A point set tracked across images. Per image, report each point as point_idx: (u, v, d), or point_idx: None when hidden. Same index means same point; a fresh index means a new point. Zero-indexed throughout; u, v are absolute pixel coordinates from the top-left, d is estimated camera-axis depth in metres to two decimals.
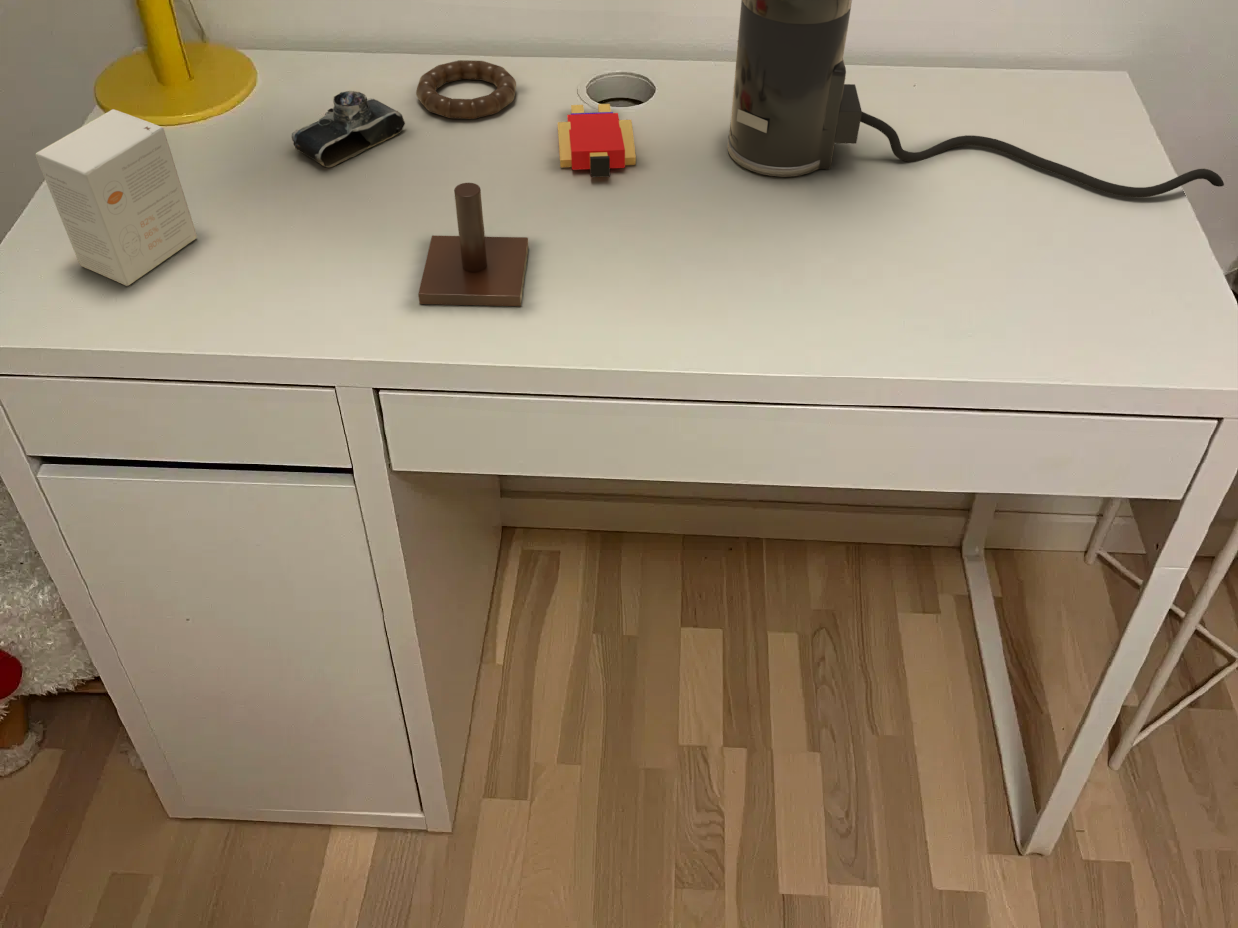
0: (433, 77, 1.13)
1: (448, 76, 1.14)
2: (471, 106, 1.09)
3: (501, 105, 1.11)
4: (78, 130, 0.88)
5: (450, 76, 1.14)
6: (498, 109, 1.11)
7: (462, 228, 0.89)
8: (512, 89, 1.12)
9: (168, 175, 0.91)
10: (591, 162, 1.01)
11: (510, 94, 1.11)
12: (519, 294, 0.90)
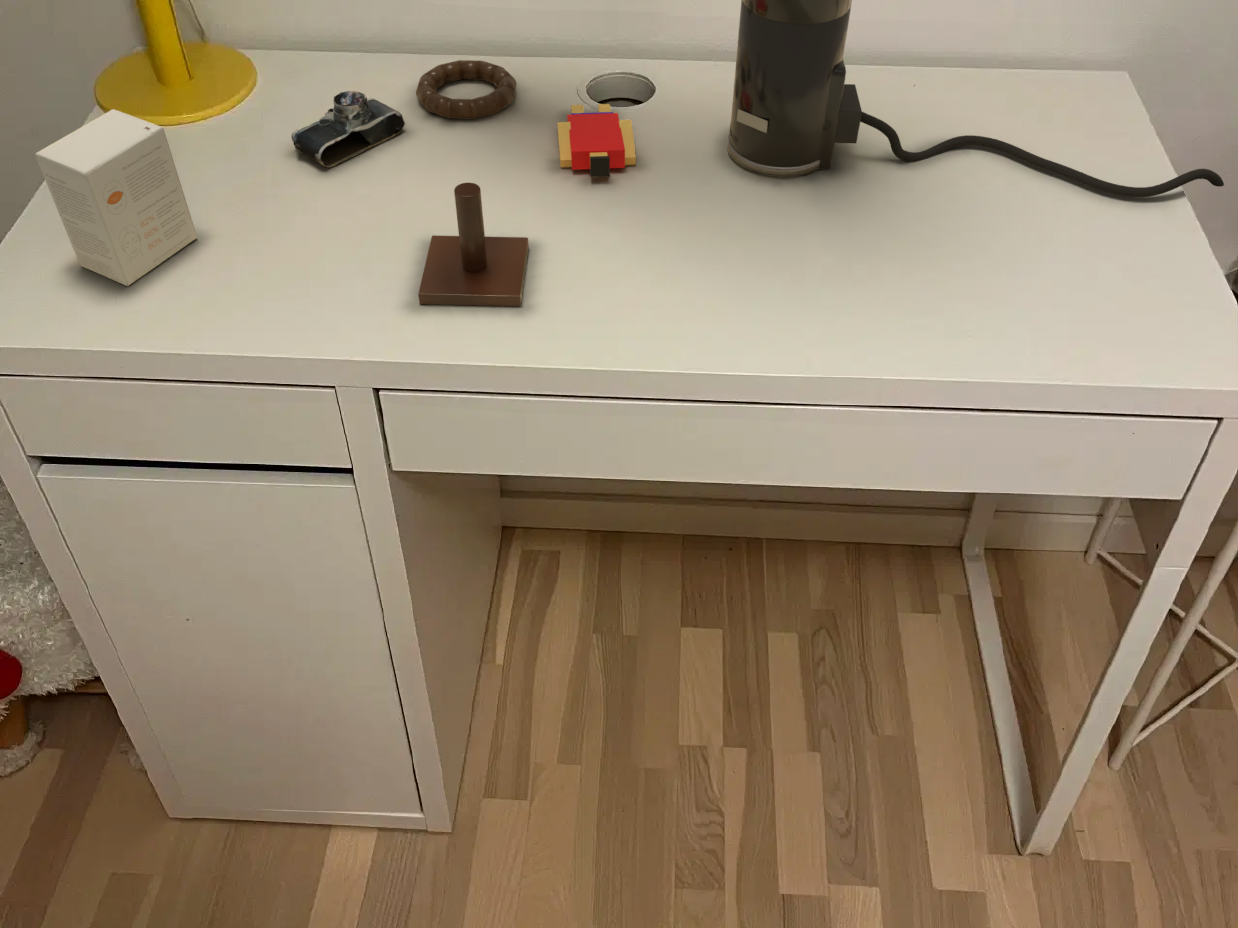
0: (433, 77, 1.13)
1: (448, 76, 1.14)
2: (471, 106, 1.09)
3: (501, 105, 1.11)
4: (78, 130, 0.88)
5: (450, 76, 1.14)
6: (498, 109, 1.11)
7: (462, 228, 0.89)
8: (512, 89, 1.12)
9: (168, 175, 0.91)
10: (591, 162, 1.01)
11: (510, 94, 1.11)
12: (519, 294, 0.90)
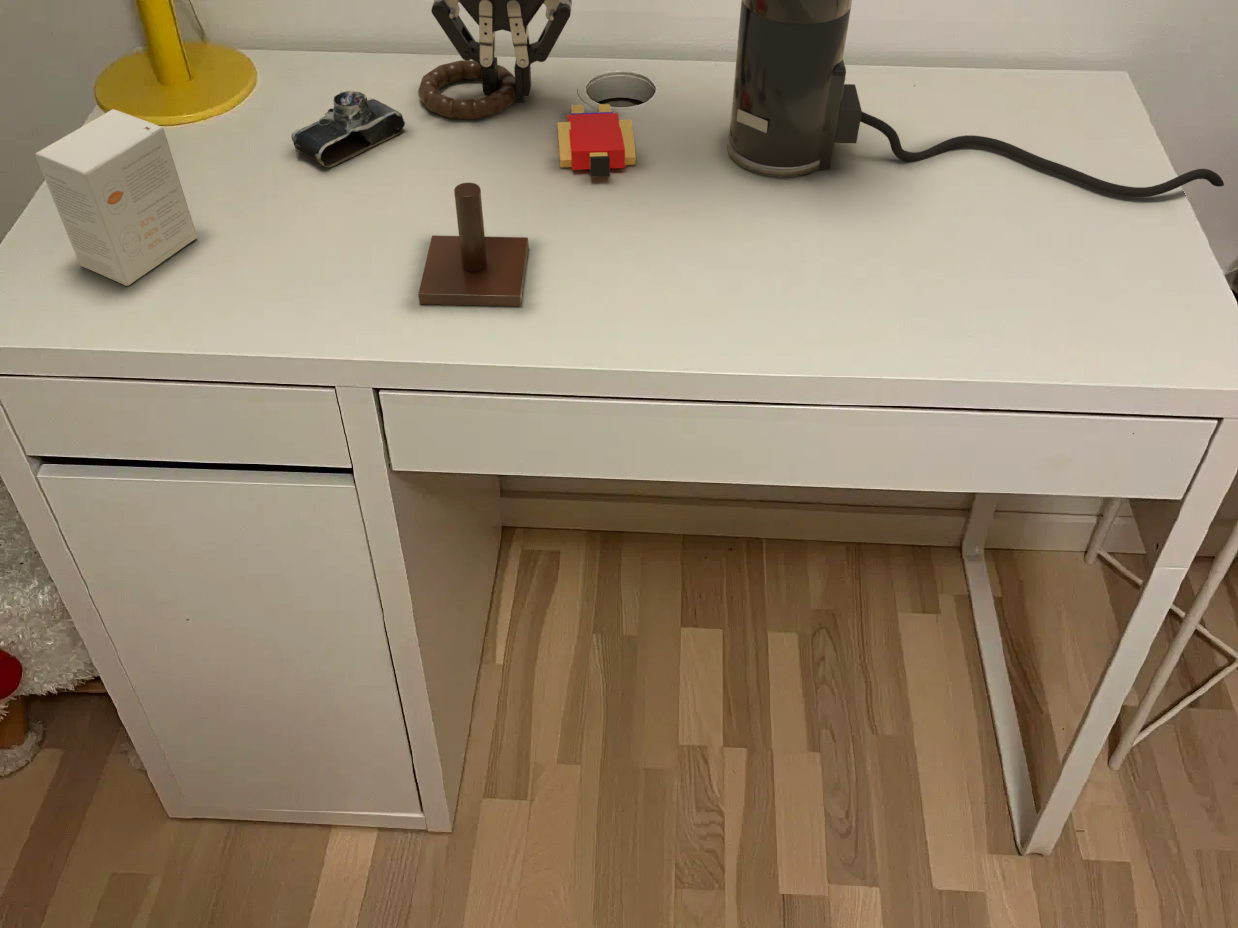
0: (435, 77, 1.13)
1: (449, 76, 1.14)
2: (473, 106, 1.09)
3: (503, 105, 1.11)
4: (78, 130, 0.88)
5: (452, 76, 1.14)
6: (500, 109, 1.10)
7: (462, 228, 0.89)
8: (514, 89, 1.12)
9: (168, 175, 0.91)
10: (591, 162, 1.01)
11: (512, 94, 1.11)
12: (519, 294, 0.90)
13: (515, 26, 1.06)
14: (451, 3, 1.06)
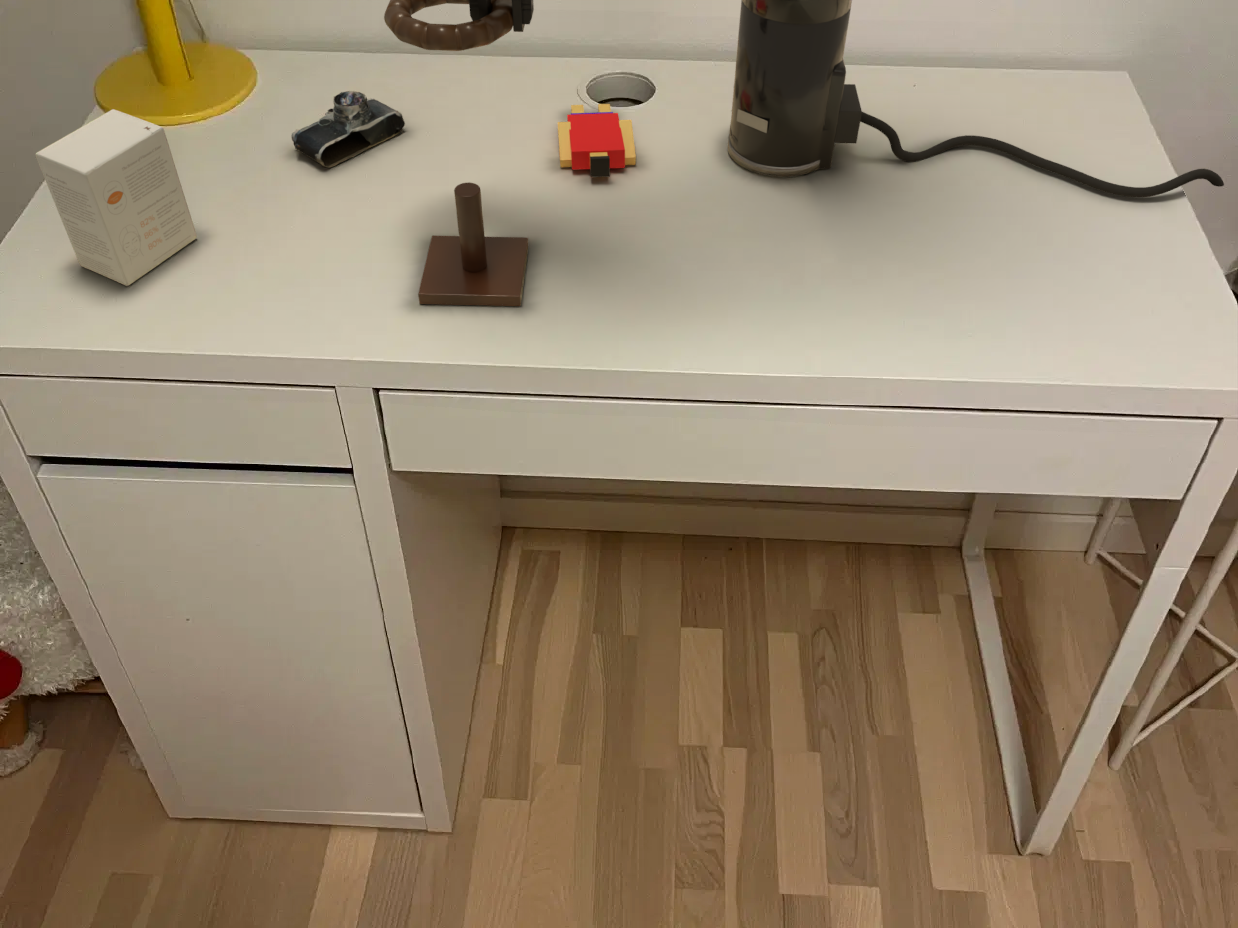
0: None
1: None
2: (455, 33, 0.82)
3: (495, 34, 0.84)
4: (78, 130, 0.88)
5: None
6: (491, 39, 0.84)
7: (462, 228, 0.89)
8: (510, 14, 0.85)
9: (168, 175, 0.91)
10: (591, 162, 1.01)
11: (507, 20, 0.84)
12: (519, 294, 0.90)
13: None
14: None
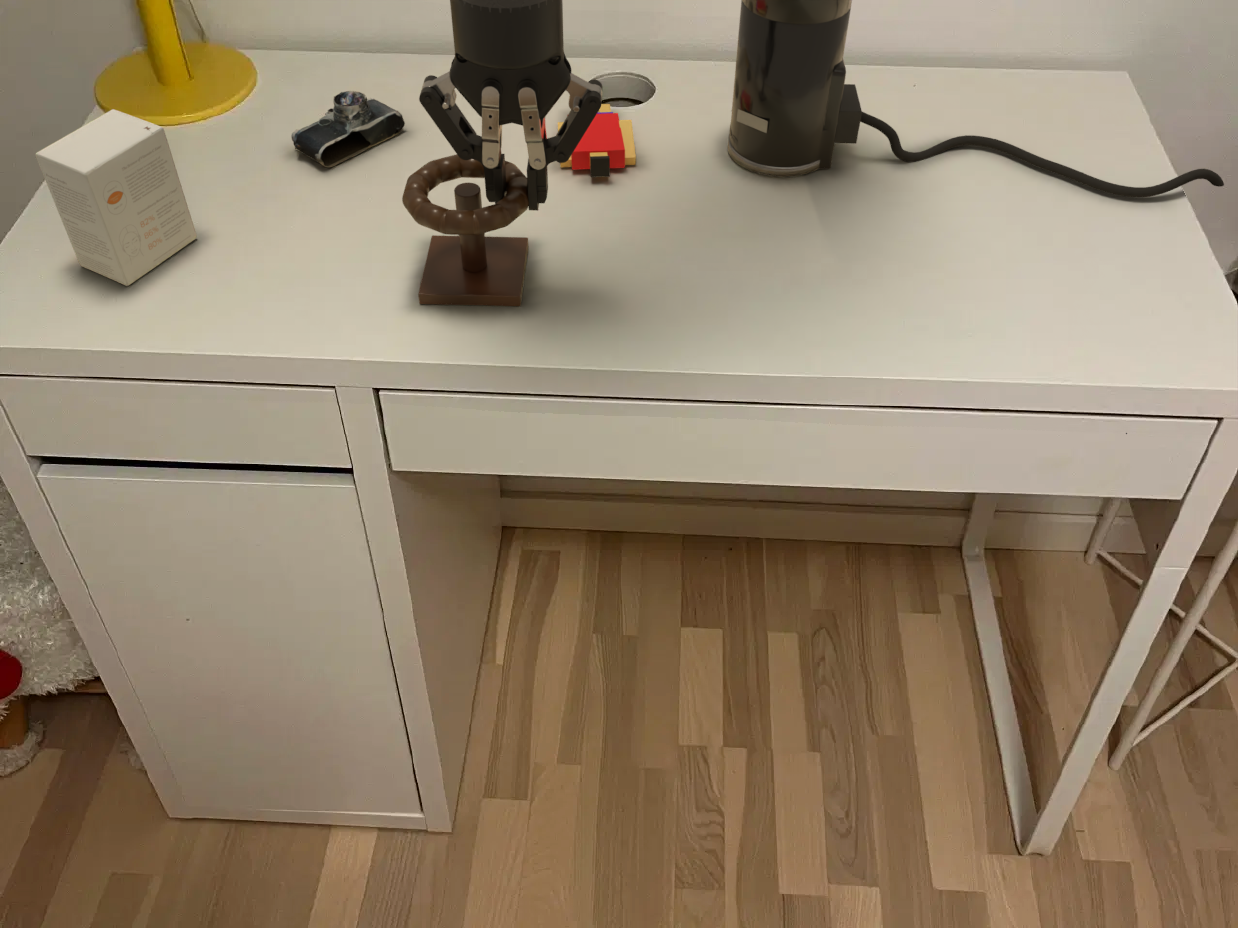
0: (424, 178, 0.88)
1: (443, 175, 0.89)
2: (473, 220, 0.84)
3: (512, 217, 0.85)
4: (78, 130, 0.88)
5: (446, 175, 0.89)
6: (508, 222, 0.85)
7: None
8: (526, 195, 0.87)
9: (168, 175, 0.91)
10: (591, 162, 1.01)
11: (523, 202, 0.86)
12: (519, 294, 0.90)
13: (529, 119, 0.81)
14: (446, 89, 0.81)
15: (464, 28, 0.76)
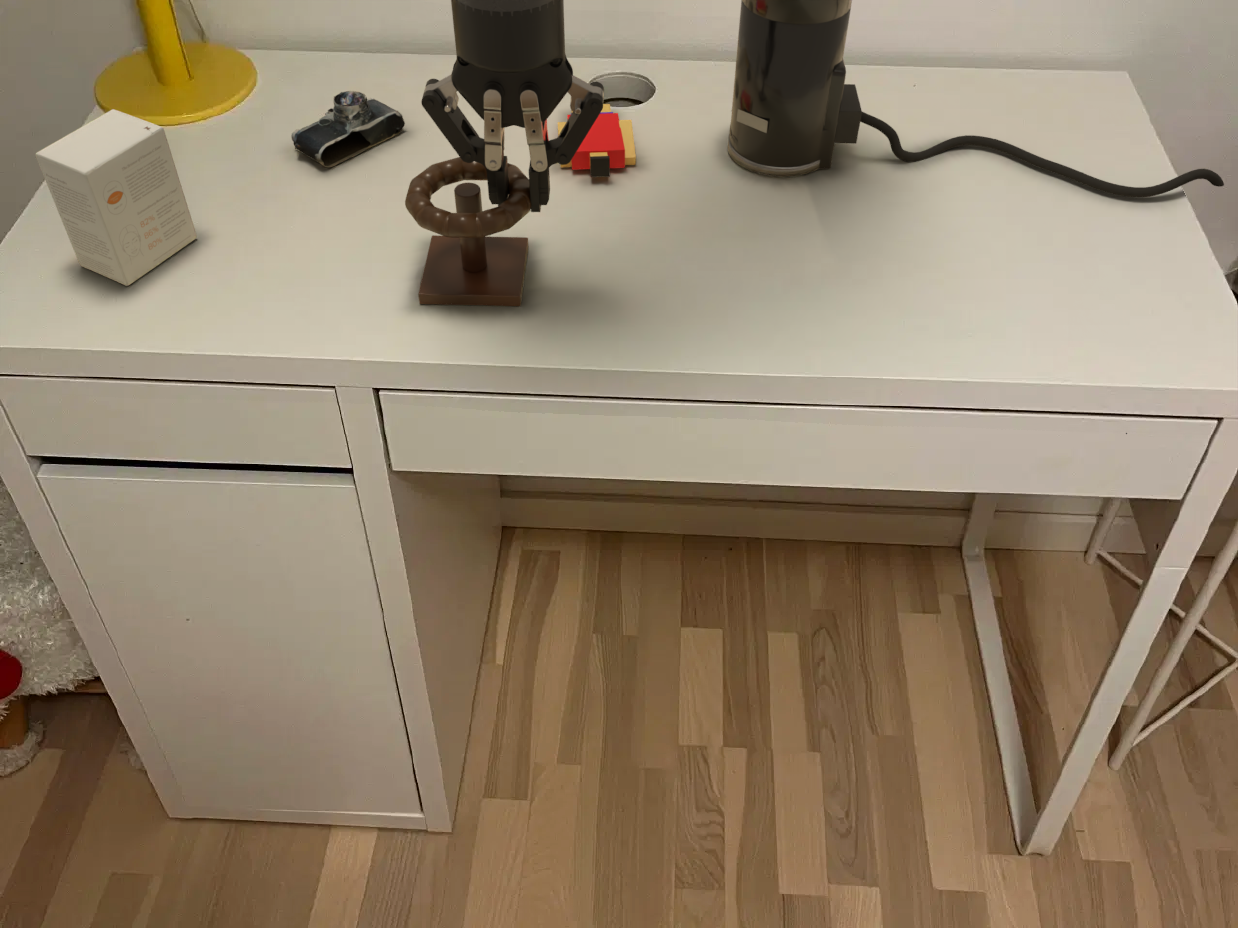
0: (427, 181, 0.88)
1: (445, 178, 0.89)
2: (476, 223, 0.84)
3: (514, 219, 0.86)
4: (78, 130, 0.88)
5: (449, 178, 0.90)
6: (511, 225, 0.86)
7: None
8: (528, 197, 0.87)
9: (168, 175, 0.91)
10: (591, 162, 1.01)
11: (526, 204, 0.86)
12: (519, 294, 0.90)
13: (530, 122, 0.81)
14: (448, 92, 0.81)
15: (465, 31, 0.76)
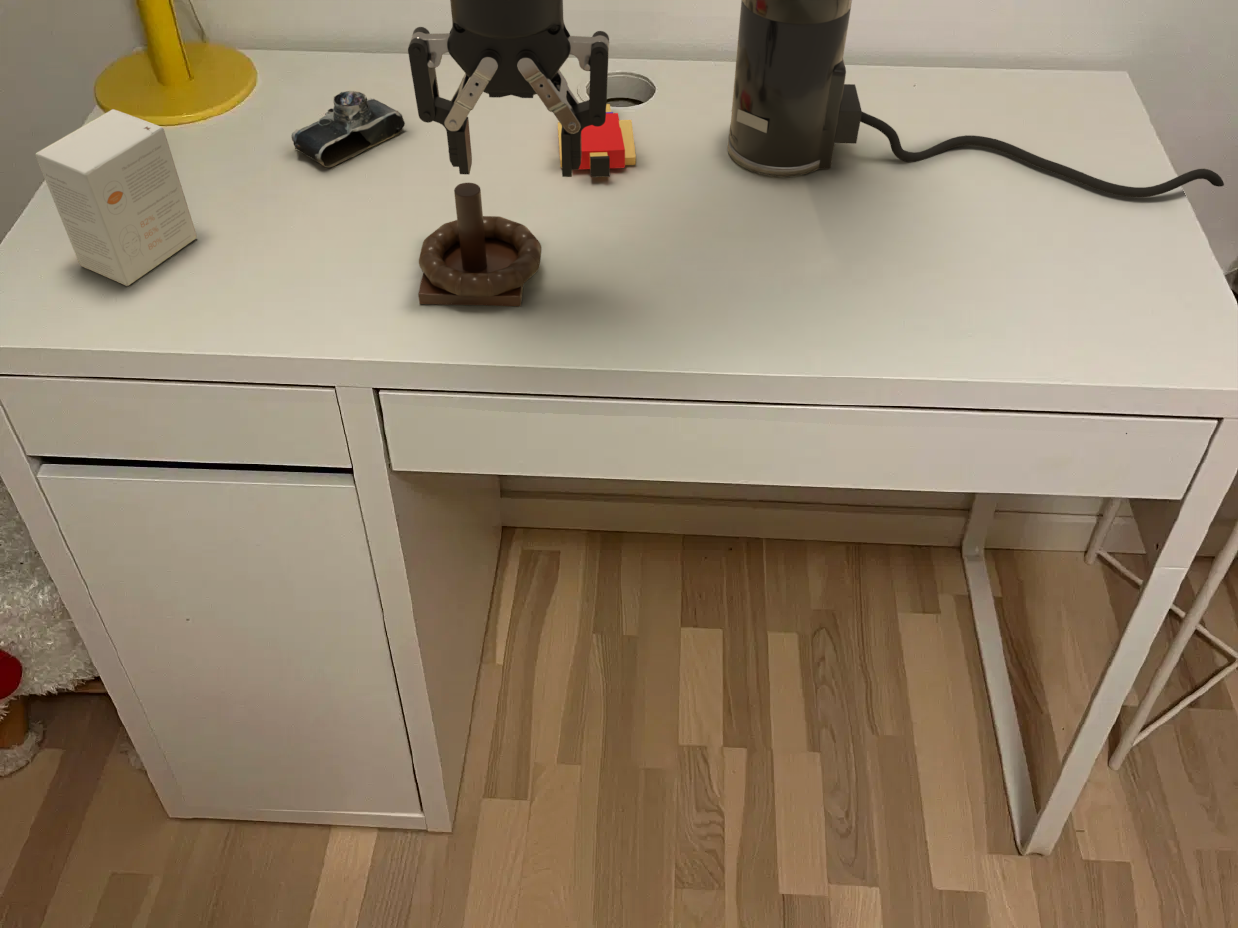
0: (439, 241, 0.92)
1: (457, 236, 0.93)
2: (487, 283, 0.88)
3: (524, 279, 0.90)
4: (78, 130, 0.88)
5: None
6: (520, 284, 0.90)
7: (462, 228, 0.89)
8: (537, 257, 0.91)
9: (168, 175, 0.91)
10: (591, 162, 1.01)
11: (535, 264, 0.90)
12: (519, 294, 0.90)
13: (541, 88, 0.80)
14: (437, 49, 0.79)
15: None
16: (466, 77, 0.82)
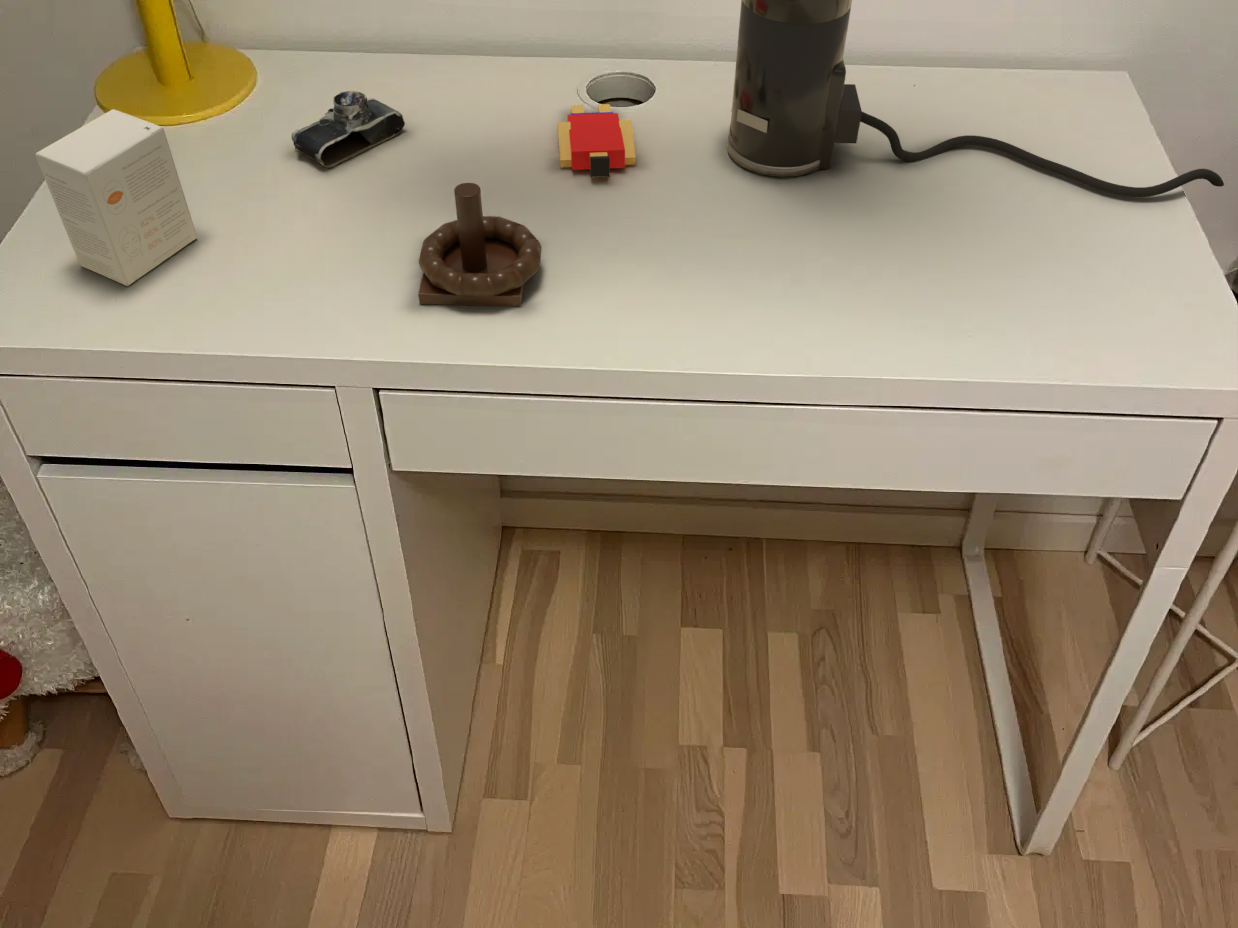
0: (439, 241, 0.92)
1: (457, 236, 0.93)
2: (487, 283, 0.88)
3: (524, 279, 0.90)
4: (78, 130, 0.88)
5: None
6: (520, 284, 0.90)
7: (462, 228, 0.89)
8: (537, 257, 0.91)
9: (168, 175, 0.91)
10: (591, 162, 1.01)
11: (535, 264, 0.90)
12: (519, 294, 0.90)
13: None
14: None
15: None
16: None
